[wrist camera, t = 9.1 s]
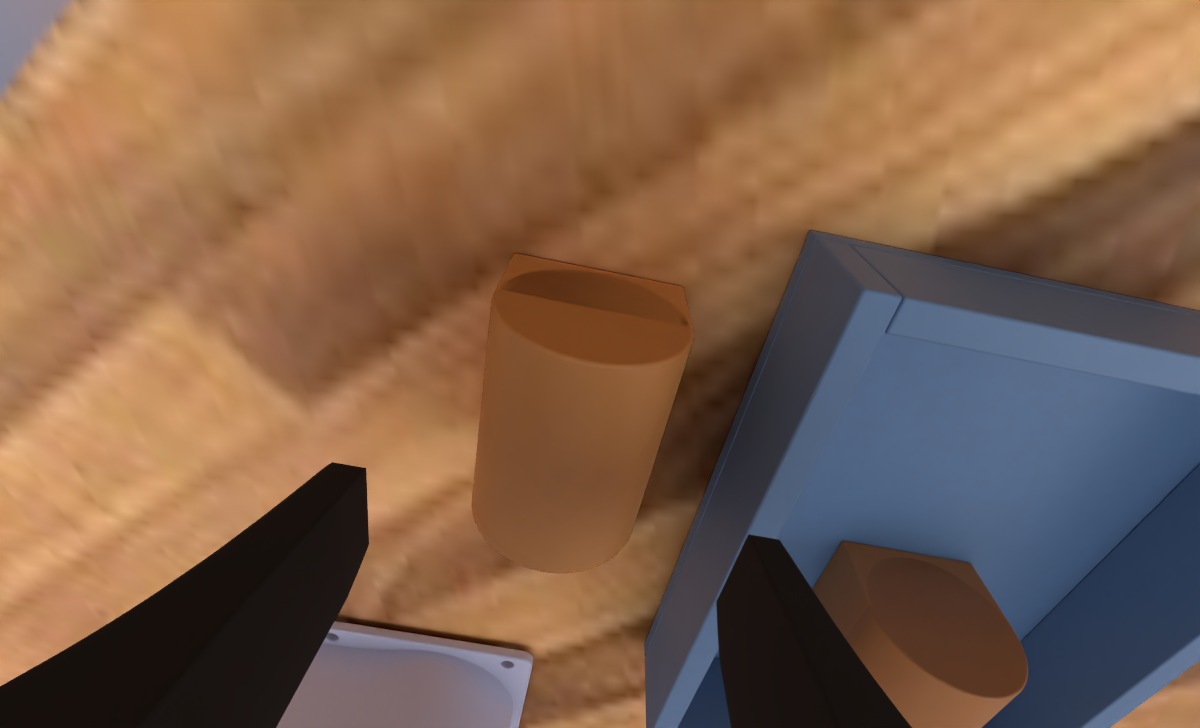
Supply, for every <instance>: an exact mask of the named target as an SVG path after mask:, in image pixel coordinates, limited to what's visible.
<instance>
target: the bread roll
mask: <svg viewBox="0 0 1200 728" xmlns="http://www.w3.org/2000/svg"><path fill="white" fill-rule="evenodd" d="M692 342H693V329H692V324H691V319H690V314H689V310H688V305H687V300H686V295H685V291H684V287H682V286H678V285H673V284H668V283H663V282H658V281H653V280H648V279H643V278H638V277H633V276H628V275H623V274H618V273H613V272H607V271H602V270H597V269H592V268H587V267H582V266H577V265H572V264H567V263H562V262H557V261H552V260H547V259H542V258H537V257H532V256H527V255H522V254H517V253H515V254H514V255H513V257H512V259H511V261H510V263H509V265H508V267H507V269H506V270H505V272H504V274H503V276H502V278H501V280H500V282H499V284H498V286H497V288H496V290H495V292H494V294H493V297H492V301H491V311H490V321H489V331H488V341H487V351H486V362H485V372H484V382H483V392H482V402H481V413H480V423H479V433H478V443H477V453H476V463H475V474H474V484H473V494H472V512H473V517H474V520H475V523H476V525H477V527H478V529H479V531H480V533H481V534H482V536H483V537H484V538H485V540H486V541H487V542H488V543H489V544H490V545H491V546H492V547H493V548H494V549H495V550H496V551H497V552H499V553H500V554H501V555H503V556H504V557H506V558H507V559H509V560H510V561H513V562H515V563H517V564H519V565H521V566H524V567H527V568H530V569H533V570H537V571H542V572H549V573H573V572H580V571H584V570H588V569H591V568H594V567H597V566H599V565H601V564H603V563H605V562H606V561H608V560H609V559H611V558H612V557H613V556H615V555H616V554H617V553H618V552H619V551H620V550H621V549H622V548H623V547H624V545H625V544H626V543H627V541H628V539H629V537H630V535H631V533H632V530H633V527H634V523H635V520H636V517H637V514H638V511H639V508H640V505H641V502H642V499H643V495H644V492H645V489H646V486H647V483H648V480H649V477H650V474H651V471H652V467H653V464H654V461H655V458H656V455H657V452H658V449H659V446H660V443H661V440H662V436H663V433H664V430H665V427H666V424H667V421H668V418H669V415H670V412H671V408H672V405H673V402H674V399H675V396H676V393H677V390H678V387H679V384H680V380H681V377H682V374H683V371H684V368H685V365H686V362H687V359H688V356H689V352H690V349H691V346H692Z"/></svg>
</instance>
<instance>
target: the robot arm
mask: <svg viewBox="0 0 1200 728" xmlns="http://www.w3.org/2000/svg"><path fill="white" fill-rule="evenodd" d="M368 545H369V537H368V509H367V481H366V468H362V467H356V466H350V465H344V464H339V463H333V462H332V463H331V464H329V465H327V466H326V467H325V468H323V469H322V470H321V471H320V472H318V473H317V474H316V475H315V476H313V477H312V478H311V479H310V480H308V481H307V482H306V483H305V484H303V485H302V486H301V487H300V488H298V489H297V490H296V491H295V492H293V493H292V494H291V495H290V496H288V497H287V498H286V499H284V500H283V501H282V502H281V503H279V504H278V505H277V506H276V507H274V508H273V509H272V510H270V511H269V512H268V513H267V514H265V515H264V516H263V517H261V518H260V519H259V520H257V521H256V522H255V523H253V524H252V525H251V526H249V527H248V528H247V529H245V530H244V531H243V532H241V533H240V534H239V535H237V536H236V537H235V538H233V539H232V540H231V541H229V542H228V543H227V544H225V545H224V546H223V547H221V548H220V549H219V550H217V551H216V552H214V553H213V554H212V555H210V556H209V557H207V558H206V559H205V560H203V561H202V562H200V563H199V564H197V565H196V566H194V567H193V568H192V569H190V570H189V571H187V572H186V573H184V574H183V575H181V576H180V577H179V578H177V579H176V580H174V581H173V582H171V583H170V584H168V585H167V586H165V587H164V588H163V589H161V590H160V591H158V592H157V593H155V594H154V595H152V596H151V597H149V598H148V599H146V600H145V601H143V602H141V603H140V604H138V605H137V606H135V607H134V608H132V609H131V610H129V611H128V612H126V613H124V614H123V615H121V616H120V617H118V618H116V619H115V620H113V621H112V622H110V623H108V624H107V625H105V626H104V627H102V628H100V629H99V630H97V631H95V632H94V633H92V634H90V635H89V636H87V637H86V638H84V639H82V640H81V641H79V642H77V643H76V644H74V645H72V646H71V647H69V648H67V649H66V650H64V651H62V652H60V653H58V654H57V655H55V656H53V657H51V658H50V659H48V660H46V661H44V662H43V663H41V664H39V665H37V666H36V667H34V668H32V669H30V670H29V671H27V672H25V673H23V674H22V675H20V676H18V677H16V678H15V679H13V680H11V681H9V682H8V683H6V684H4V685H2V686H0V728H518V727H519V723H520V718H521V714H522V709H523V705H524V701H525V696H526V692H527V687H528V683H529V678H530V674H531V670H532V664H533V657H532V655H531V654H530V653H528V652H526V651H522V650H516V649H510V648H503V647H497V646H491V645H484V644H478V643H472V642H465V641H459V640H452V639H446V638H440V637H433V636H427V635H421V634H414V633H408V632H402V631H395V630H389V629H383V628H376V627H370V626H363V625H357V624H351V623H344V622H338V621H335V619H336V618H337V616H338V614H339V612H340V610H341V608H342V606H343V604H344V603H345V601H346V599H347V597H348V594H349V592H350V590H351V587H352V585H353V582H354V580H355V578H356V575H357V573H358V570H359V568H360V565H361V563H362V560H363V558H364V555H365V553H366V550H367V548H368ZM716 607H717V630H718V646H719V659H720V665H721V671H722V677H723V683H724V689H725V695H726V701H727V707H728V713H729V719H730V724H731V728H912V727H911V726H910V724H909V723H908V722H907V721H906V719H905V718H904V717H903V716H902V714H901V713H900V712H899V710H898V709H897V708H896V706H895V705H894V704H893V703H892V701H891V700H890V699H889V697H888V696H887V695H886V693H885V692H884V691H883V689H882V688H881V687H880V686H879V684H878V683H877V682H876V680H875V679H874V678H873V676H872V675H871V673H870V672H869V671H868V669H867V668H866V667H865V665H864V664H863V663H862V661H861V660H860V658H859V657H858V656H857V654H856V653H855V651H854V650H853V649H852V647H851V646H850V644H849V643H848V641H847V640H846V639H845V637H844V636H843V634H842V633H841V631H840V630H839V628H838V627H837V626H836V624H835V623H834V621H833V620H832V618H831V617H830V615H829V614H828V612H827V611H826V609H825V608H824V606H823V605H822V603H821V602H820V600H819V599H818V597H817V596H816V594H815V593H814V591H813V590H812V588H811V587H810V585H809V584H808V582H807V581H806V579H805V578H804V576H803V575H802V573H801V571H800V570H799V568H798V567H797V565H796V564H795V562H794V561H793V559H792V558H791V556H790V555H789V553H788V552H787V550H786V549H785V547H784V546H783V544H782V543H781V541H780V540H779V539H773V538H767V537H761V536H755V535H750V534H748V536H747V538H746V540H745V543H744V545H743V547H742V549H741V551H740V553H739V555H738V557H737V559H736V561H735V564H734V566H733V568H732V570H731V572H730V574H729V576H728V578H727V580H726V582H725V585H724V587H723V589H722V591H721V593H720V595H719V597H718V599H717V601H716Z"/></svg>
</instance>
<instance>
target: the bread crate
mask: <svg viewBox="0 0 1200 728" xmlns="http://www.w3.org/2000/svg"><path fill="white" fill-rule="evenodd" d="M748 534H750V535H755V536H761V537H767V538H773V539H779V540H780V541H781V543H782V544H783V546H784V547H785V549H786V550H787V552H788V553H789V555H790V556H791V558H792V559H793V561H794V562H795V564H796V565H797V567H798V568H799V570H800V571H801V573H802V575H803V576H804V578H805V579H806V581H807V582H808V584H809V585H810V587H811V588H812V589H813V587H814V586H815V584H816V582H817V581H818V579H819V577H820V576H821V574H822V573H823V571H824V569H825V568H826V566H827V564H828V563H829V561H830V560H831V558H832V556H833V555H834V553H835V552H836V550H837V548H838V547H839V545H840V543H841V542H842V541H848V542H854V543H860V544H865V545H871V546H877V547H883V548H888V549H894V550H900V551H905V552H911V553H917V554H923V555H928V556H934V557H940V558H945V559H951V560H957V561H963V562H968V563H971V564H972V566H973V567H974V569H975V570H976V572H977V573H978V575H979V577H980V578H981V580H982V581H983V583H984V584H985V586H986V587H987V589H988V591H989V592H990V594H991V595H992V597H993V598H994V600H995V601H996V603H997V605H998V606H999V608H1000V609H1001V611H1002V612H1003V614H1004V616H1005V617H1006V619H1007V620H1008V622H1009V623H1010V625H1011V626H1012V628H1013V630H1014V632H1015V633H1016V635H1017V637H1018V639H1019V640H1020V643H1021V645H1022V647H1023V649H1024V652H1025V655H1026V658H1027V664H1028V677H1027V682H1026V685H1025V686H1024V688H1023V690H1022V691H1021V692H1020V693H1019V694H1018V695H1017V696H1016V697H1015V698H1014V699H1012V700H1011V701H1010V702H1009V703H1008V704H1007V705H1006V706H1005V707H1004V708H1003V709H1002V710H1000V711H999V712H998V713H997V714H996V715H995V716H994V717H993V718H992V719H991V720H989V721H988V722H987V723H986V724H985V725H984V726H983V727H982V728H1110V727H1111V726H1112V725H1114V724H1115V723H1116V722H1118V721H1119V720H1120V719H1122V718H1123V717H1124V716H1126V715H1127V714H1128V713H1130V712H1131V711H1132V710H1134V709H1135V708H1136V707H1138V706H1139V705H1140V704H1142V703H1143V702H1144V701H1146V700H1147V699H1148V698H1150V697H1151V696H1152V695H1154V694H1155V693H1156V692H1158V691H1159V690H1160V689H1162V688H1163V687H1164V686H1166V685H1167V684H1168V683H1170V682H1171V681H1172V680H1174V679H1175V678H1176V677H1178V676H1179V675H1180V674H1182V673H1183V672H1184V671H1186V670H1187V669H1188V668H1190V667H1191V666H1192V665H1194V664H1195V663H1196V662H1198V661H1199V660H1200V311H1198V310H1193V309H1188V308H1183V307H1178V306H1174V305H1169V304H1164V303H1159V302H1154V301H1150V300H1145V299H1140V298H1135V297H1130V296H1126V295H1121V294H1116V293H1111V292H1106V291H1102V290H1097V289H1092V288H1087V287H1082V286H1078V285H1073V284H1068V283H1063V282H1058V281H1054V280H1049V279H1044V278H1039V277H1034V276H1030V275H1025V274H1020V273H1015V272H1010V271H1006V270H1001V269H996V268H991V267H986V266H982V265H977V264H972V263H967V262H962V261H958V260H953V259H948V258H943V257H938V256H934V255H929V254H924V253H919V252H914V251H910V250H905V249H900V248H895V247H890V246H886V245H881V244H876V243H871V242H866V241H862V240H857V239H852V238H847V237H842V236H838V235H833V234H828V233H823V232H818V231H814V230H812V231H810V232H809V233H808V236H807V238H806V241H805V243H804V246H803V248H802V251H801V253H800V256H799V258H798V261H797V263H796V266H795V268H794V271H793V273H792V276H791V278H790V281H789V283H788V286H787V288H786V291H785V293H784V296H783V298H782V301H781V303H780V306H779V308H778V311H777V313H776V316H775V319H774V321H773V324H772V326H771V329H770V331H769V334H768V336H767V339H766V341H765V344H764V346H763V349H762V351H761V354H760V356H759V359H758V361H757V364H756V366H755V369H754V371H753V374H752V376H751V379H750V381H749V384H748V386H747V389H746V391H745V394H744V396H743V399H742V401H741V404H740V406H739V409H738V411H737V414H736V416H735V419H734V421H733V424H732V426H731V429H730V431H729V434H728V436H727V439H726V441H725V444H724V446H723V449H722V451H721V454H720V456H719V459H718V461H717V464H716V466H715V469H714V471H713V474H712V476H711V479H710V481H709V484H708V486H707V489H706V491H705V494H704V496H703V499H702V501H701V504H700V506H699V509H698V511H697V514H696V516H695V519H694V521H693V524H692V526H691V529H690V531H689V534H688V536H687V539H686V541H685V544H684V546H683V549H682V551H681V554H680V556H679V559H678V561H677V564H676V566H675V569H674V571H673V574H672V576H671V579H670V581H669V584H668V586H667V589H666V591H665V594H664V596H663V599H662V601H661V604H660V606H659V609H658V611H657V614H656V616H655V619H654V621H653V624H652V626H651V629H650V631H649V634H648V636H647V639H646V641H645V644H644V646H645V688H646V728H731V724H730V719H729V713H728V707H727V701H726V695H725V689H724V683H723V677H722V671H721V665H720V659H719V646H718V630H717V607H716V601H717V599H718V597H719V595H720V593H721V591H722V589H723V587H724V585H725V582H726V580H727V578H728V576H729V574H730V572H731V570H732V568H733V566H734V564H735V561H736V559H737V557H738V555H739V553H740V551H741V549H742V547H743V545H744V543H745V540H746V538H747V536H748Z"/></svg>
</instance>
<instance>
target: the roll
mask: <svg viewBox="0 0 1200 728" xmlns="http://www.w3.org/2000/svg"><path fill="white" fill-rule="evenodd" d="M812 590H813V591H814V593H815V594H816V596H817V597H818V599H819V600H820V602H821V603H822V605H823V606H824V608H825V609H826V611H827V612H828V614H829V615H830V617H831V618H832V620H833V621H834V623H835V624H836V626H837V627H838V628H839V630H840V631H841V633H842V634H843V636H844V637H845V639H846V640H847V641H848V643H849V644H850V646H851V647H852V649H853V650H854V651H855V653H856V654H857V656H858V657H859V658H860V660H861V661H862V663H863V664H864V665H865V667H866V668H867V669H868V671H869V672H870V673H871V675H872V676H873V678H874V679H875V680H876V682H877V683H878V684H879V686H880V687H881V688H882V689H883V691H884V692H885V693H886V695H887V696H888V697H889V699H890V700H891V701H892V703H893V704H894V705H895V706H896V708H897V709H898V710H899V712H900V713H901V714H902V716H903V717H904V718H905V719H906V721H907V722H908V723H909V724H910V726H911V727H912V728H982V727H983V726H984V725H985V724H986V723H987V722H988V721H989V720H991V719H992V718H993V717H994V716H995V715H996V714H997V713H998V712H999V711H1000V710H1002V709H1003V708H1004V707H1005V706H1006V705H1007V704H1008V703H1009V702H1010V701H1011V700H1012V699H1014V698H1015V697H1016V696H1017V695H1018V694H1019V693H1020V692H1021V691H1022V690H1023V688H1024V686H1025V685H1026V682H1027V677H1028V664H1027V658H1026V655H1025V652H1024V649H1023V647H1022V645H1021V643H1020V640H1019V639H1018V637H1017V635H1016V633H1015V632H1014V630H1013V628H1012V626H1011V625H1010V623H1009V622H1008V620H1007V619H1006V617H1005V616H1004V614H1003V612H1002V611H1001V609H1000V608H999V606H998V605H997V603H996V601H995V600H994V598H993V597H992V595H991V594H990V592H989V591H988V589H987V587H986V586H985V584H984V583H983V581H982V580H981V578H980V577H979V575H978V573H977V572H976V570H975V569H974V567H973V566H972V564H971V563H968V562H963V561H957V560H951V559H945V558H940V557H934V556H928V555H923V554H917V553H911V552H905V551H900V550H894V549H888V548H883V547H877V546H871V545H865V544H860V543H854V542H848V541H842V542H841V543H840V545H839V547H838V548H837V550H836V552H835V553H834V555H833V556H832V558H831V560H830V561H829V563H828V564H827V566H826V568H825V569H824V571H823V573H822V574H821V576H820V577H819V579H818V581H817V582H816V584H815V586H814V587H813V589H812Z"/></svg>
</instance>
